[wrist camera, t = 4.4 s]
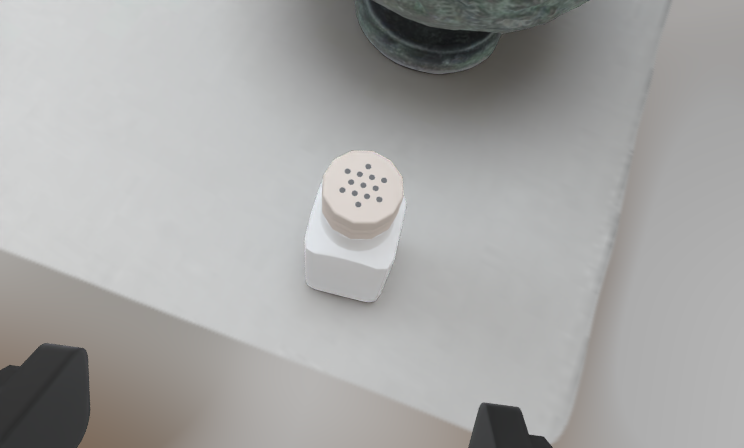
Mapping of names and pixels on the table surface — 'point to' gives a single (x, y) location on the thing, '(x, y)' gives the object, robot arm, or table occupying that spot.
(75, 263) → the table surface
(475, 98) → the table surface
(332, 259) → the salt shaker
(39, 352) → the robot arm
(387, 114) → the table surface
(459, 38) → the bowl
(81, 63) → the table surface
